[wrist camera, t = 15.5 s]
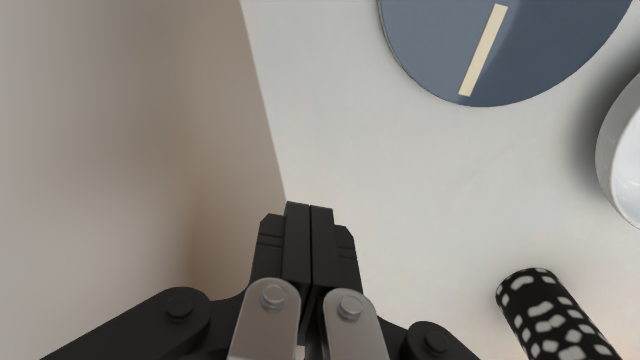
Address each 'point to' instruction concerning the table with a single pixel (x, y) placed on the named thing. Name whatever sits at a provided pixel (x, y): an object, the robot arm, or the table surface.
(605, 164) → the serving bowl
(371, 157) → the table surface
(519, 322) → the spotted tube
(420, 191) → the table surface
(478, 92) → the peg stand
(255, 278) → the robot arm
